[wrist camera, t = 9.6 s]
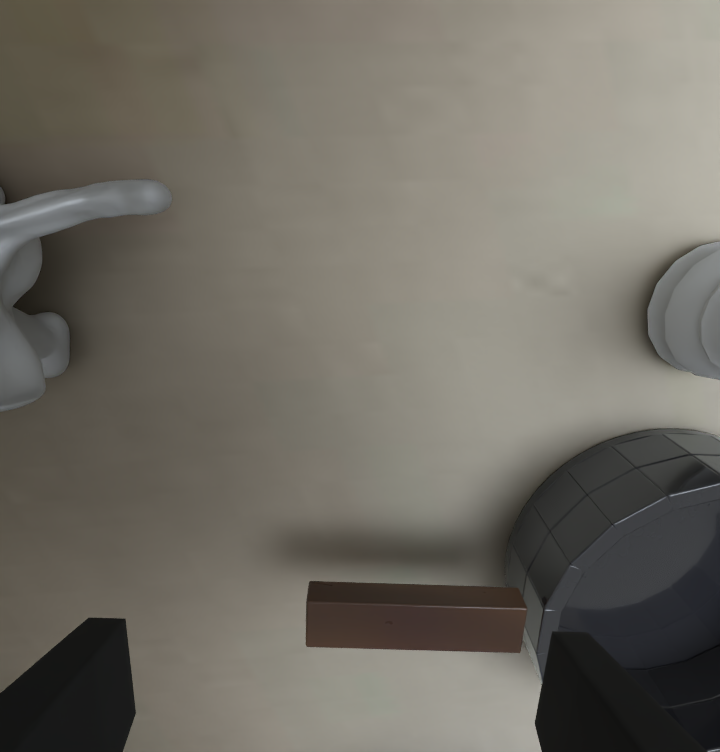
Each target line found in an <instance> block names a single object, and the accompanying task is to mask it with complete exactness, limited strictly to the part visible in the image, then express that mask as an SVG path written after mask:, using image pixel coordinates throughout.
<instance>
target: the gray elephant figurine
mask: <svg viewBox="0 0 720 752" xmlns="http://www.w3.org/2000/svg"><path fill="white" fill-rule="evenodd" d="M171 202H172V195H171V192H170V190H169V189H168V188H167V187H166V186H165V185H164V184H163V183H161V182H158V181H156V180H150V179H138V180H118V181H108V182H102V183H95V184H91V185H88V186H84V187H79V188H74V189H63V190H56V191H51V192H47V193H42V194H38V195H35V196H32V197H29V198H26V199H23V200H20V201H18V202H15V203H11V204H4V203H5V195H4V191H3V189H2V188H1V186H0V412H1V411H7V410H12V409H16V408H19V407H22V406H25V405H28V404H30V403H32V402H34V401H35V400H37V399H39V398H40V397H41V396H42V395H43V394H44V393H45V390H46V385H45V378H52V377H56V376H58V375H60V374H62V373H63V372H64V371H65V370H66V368H67V366H68V364H69V359H70V333H69V328H68V325H67V323H66V321H65V320H64V319H63V318H62V317H61V316H60V315H58V314H56V313H52V312H43V313H39V314H36V315H28V314H26V313H24V312H22V311H20V310H18V309H16V308H14V307H13V305H14V304H15V303H16V302H17V301H18V299H19V298H20V297H21V296H22V295H23V294H25V293H26V292H27V291H28V290H29V289H30V288H31V287H32V286H33V285H34V283H35V282H36V280H37V278H38V275H39V273H40V270H41V266H42V247H41V242H40V239H39V237H41V236H44V235H48V234H52V233H55V232H58V231H61V230H64V229H67V228H70V227H73V226H75V225H78V224H80V223H82V222H85V221H89V220H93V219H97V218H111V217H117V216H123V215H153V214H157V213H161V212H163V211H165V210H166V209H167V208H169V206H170V205H171Z"/></svg>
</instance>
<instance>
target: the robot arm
mask: <svg viewBox="0 0 720 752" xmlns="http://www.w3.org/2000/svg"><path fill="white" fill-rule="evenodd" d="M135 714H136V710H135V701H134V692H133V683H132V674H131V665H130V656H129V647H128V638H127V629H126V620H125V619H117V618H88V619H87V620H85V621H84V622H83V623H82V624H81V625H79V626H78V627H77V628H76V629H75V630H74V631H72V632H71V633H70V634H69V635H68V636H67V637H65V638H64V639H63V640H62V641H61V642H60V643H58V644H57V645H56V646H55V647H54V648H53V649H51V650H50V651H49V652H48V653H47V654H46V655H44V656H43V657H42V658H41V659H40V660H39V661H37V662H36V663H35V664H34V665H33V666H32V667H30V668H29V669H28V670H27V671H26V672H25V673H23V674H22V675H21V676H20V677H19V678H18V679H16V680H15V681H14V682H13V683H12V684H11V685H9V686H8V687H7V688H6V689H5V690H4V691H2V692H1V693H0V752H123V749H124V746H125V743H126V740H127V737H128V734H129V731H130V728H131V726H132V723H133V720H134V717H135ZM535 726H536V730H537V734H538V738H539V742H540V746H541V750H542V752H707V751H706V750H705V749H704V748H703V747H702V746H701V745H700V744H699V743H698V742H697V741H696V740H695V739H694V738H693V737H692V736H691V735H690V734H689V733H688V732H687V731H686V730H685V729H684V728H683V727H682V726H681V725H680V724H679V723H678V722H677V721H676V720H675V719H674V718H673V717H672V716H671V715H670V714H669V713H668V712H667V711H666V710H664V709H663V708H662V707H661V706H660V704H659V703H658V702H657V701H656V700H655V699H654V698H653V697H652V696H651V695H650V694H649V693H648V692H647V691H646V690H645V689H644V688H643V687H642V686H641V685H640V684H639V683H638V682H637V681H636V680H635V679H634V678H633V677H632V676H631V675H630V674H629V673H628V672H627V671H626V670H625V669H624V668H623V667H622V666H621V665H620V664H619V663H618V662H617V661H616V660H615V659H614V658H613V657H612V656H611V655H610V654H609V653H608V652H607V651H606V650H605V649H604V648H603V647H602V646H601V645H600V644H599V643H598V642H597V641H596V640H595V639H594V638H593V637H592V636H591V635H590V634H589V633H588V632H558V631H552V634H551V639H550V645H549V650H548V655H547V661H546V666H545V671H544V677H543V682H542V688H541V693H540V698H539V704H538V709H537V714H536V720H535Z"/></svg>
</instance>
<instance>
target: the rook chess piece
mask: <svg viewBox="0 0 720 752" xmlns="http://www.w3.org/2000/svg"><path fill="white" fill-rule="evenodd" d="M647 314H648V336H649V337H650V339H651V341H652V343H653V345H654V347H655V349H656V351H657V353H658V355H659V356H660V357H661V358H663V359H664V360H665V361H667V362H668V363H670V364H671V365H672V366H674V367H675V368H676V369H678V370H683V371H688V372H692V373H693V374H694V375H697V376H702V377H708V378H713V379H718V380H720V242H715V243H710V244H705V245H701V246H699V247H697V248H696V249H694V250H692V251H691V252H689V253H688V254H686V255H684V256H683V257H681V258H680V259H678V260H676V261H675V262H674V263H673V265H672V266H671V267H670V268H669V269H668V271H667V272H666V273H665V274H664V276H663V277H662V278H661V279H660V280H659V282H658V283H657V284H656V287H655V290H654V293H653V296H652V298H651V301H650V304H649V307H648V310H647Z"/></svg>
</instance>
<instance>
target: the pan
mask: <svg viewBox="0 0 720 752" xmlns="http://www.w3.org/2000/svg"><path fill="white" fill-rule="evenodd" d="M505 580H506V587H516V588H519V590H520V592H521V595H522V597H523V599H524V602H525V604H526V606H527V615H526V621H525V627H524V633H523V640H524V642H525V645H526V647H527V650H528V652H529V655H530V657H531V660H532V662H533V665H534V667H535V670H536V672H537V675H538V677H539V680H540V682H541V685H542V682H543V677H544V671H545V666H546V661H547V655H548V650H549V645H550V639H551V634H552V631H558V632H588V633H589V634H590V635H591V636H592V637H593V638H594V639H595V640H596V641H597V642H598V643H599V644H600V645H601V646H602V647H603V648H604V649H605V650H606V651H607V652H608V653H609V654H610V655H611V656H612V657H613V658H614V659H615V660H616V661H617V662H618V663H619V664H620V665H621V666H622V667H623V668H624V669H625V670H626V671H627V672H628V673H629V674H630V675H631V676H632V677H633V678H634V679H635V680H636V681H637V682H638V683H639V684H640V685H641V686H642V687H643V688H644V689H645V690H646V691H647V692H648V693H649V694H650V695H651V696H652V697H653V698H654V699H655V700H656V701H657V702H658V703H659V704H660V706H661V707H662V708H663V709H664V710H666V711H667V712H668V713H669V714H670V715H671V716H672V717H673V718H674V719H675V720H676V721H677V722H678V723H679V724H680V725H681V726H682V727H683V728H684V729H685V730H686V731H687V732H688V733H689V734H690V735H691V736H692V737H693V738H694V739H695V740H696V741H697V742H698V743H699V744H700V745H701V746H702V747H703V748H704V749H705V750H706V751H707V752H720V437H719V436H717V435H713V434H709V433H704V432H700V431H694V430H684V429H655V430H648V431H641V432H635V433H632V434H628V435H624V436H620V437H617V438H614V439H611V440H609V441H606V442H604V443H601V444H598V445H596V446H594V447H592V448H590V449H589V450H587V451H585V452H583V453H581V454H579V455H578V456H576V457H575V458H573V459H572V460H570V461H569V462H567V463H566V464H564V465H563V466H561V467H560V468H559V469H558V470H557V471H556V472H554V473H553V474H552V475H551V476H550V477H549V478H547V480H546V481H545V482H544V483H543V484H542V485H541V486H540V487H539V488H538V489H537V490H536V491H535V493H534V494H533V495H532V497H531V498H530V499H529V501H528V502H527V504H526V505H525V506H524V508H523V510H522V512H521V513H520V515H519V517H518V519H517V521H516V523H515V525H514V528H513V531H512V533H511V536H510V539H509V543H508V547H507V552H506V559H505Z"/></svg>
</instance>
